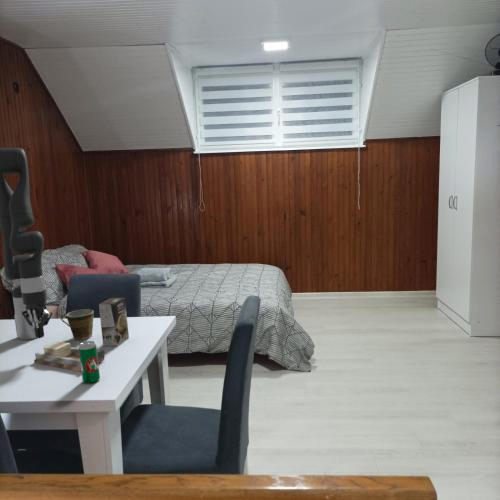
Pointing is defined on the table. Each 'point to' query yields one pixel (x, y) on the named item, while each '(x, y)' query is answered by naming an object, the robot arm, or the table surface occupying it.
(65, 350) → the birch block
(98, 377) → the soda can
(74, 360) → the shallow wooden tray
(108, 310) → the coffee box
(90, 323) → the ceramic cup
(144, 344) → the table surface
